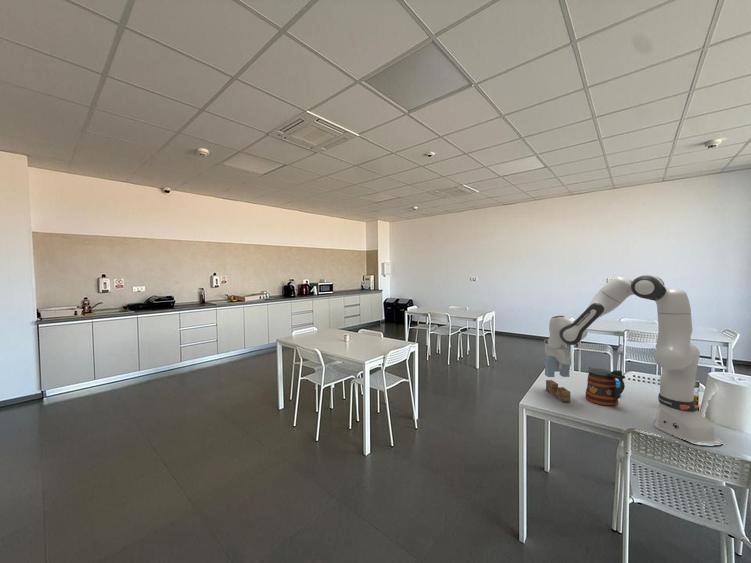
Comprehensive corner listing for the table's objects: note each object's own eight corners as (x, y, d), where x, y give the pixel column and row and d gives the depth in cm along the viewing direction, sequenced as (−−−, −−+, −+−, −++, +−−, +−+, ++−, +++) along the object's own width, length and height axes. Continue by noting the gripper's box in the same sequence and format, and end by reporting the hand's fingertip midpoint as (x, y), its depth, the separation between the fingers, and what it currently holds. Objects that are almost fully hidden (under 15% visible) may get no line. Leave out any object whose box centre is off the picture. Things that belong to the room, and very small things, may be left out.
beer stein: (633, 406, 161) (634, 369, 161) (616, 412, 156) (616, 373, 155) (596, 393, 179) (596, 359, 178) (579, 397, 174) (579, 363, 173)
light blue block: (565, 374, 178) (565, 356, 178) (569, 376, 175) (569, 358, 174) (544, 374, 178) (545, 356, 178) (548, 377, 175) (548, 358, 174)
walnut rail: (570, 402, 168) (570, 391, 167) (563, 402, 168) (564, 392, 167) (551, 389, 186) (551, 379, 185) (546, 389, 186) (546, 380, 185)
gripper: (574, 348, 165) (574, 373, 166) (553, 339, 185) (552, 361, 186) (563, 348, 165) (562, 373, 166) (542, 339, 185) (542, 361, 186)
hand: (557, 367), depth 176 cm, fingers closed on light blue block, 3 cm apart
